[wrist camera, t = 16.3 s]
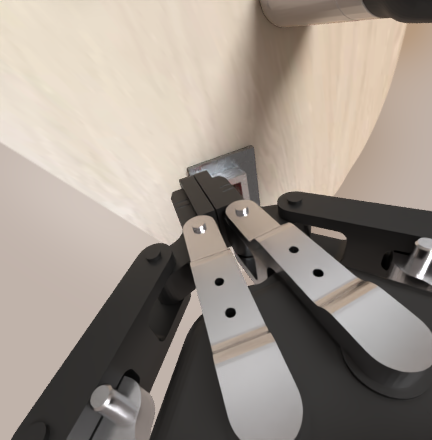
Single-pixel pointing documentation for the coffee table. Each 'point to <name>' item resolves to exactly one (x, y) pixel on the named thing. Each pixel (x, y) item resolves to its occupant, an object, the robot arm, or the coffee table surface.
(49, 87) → the coffee table surface
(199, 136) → the coffee table surface
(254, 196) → the jig
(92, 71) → the coffee table surface
